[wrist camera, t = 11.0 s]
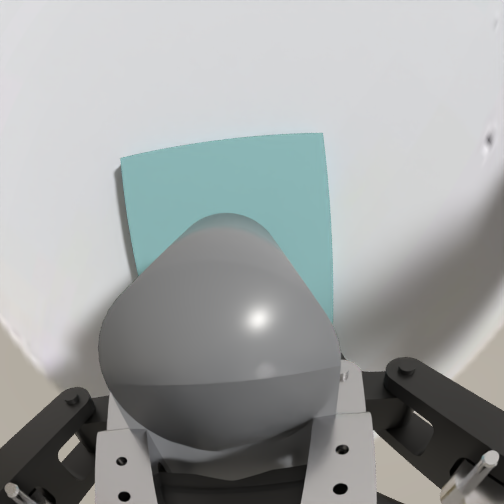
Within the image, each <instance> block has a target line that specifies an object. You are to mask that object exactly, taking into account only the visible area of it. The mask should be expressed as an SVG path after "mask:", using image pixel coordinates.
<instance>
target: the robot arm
mask: <svg viewBox="0 0 504 504" xmlns="http://www.w3.org/2000/svg"><path fill="white" fill-rule="evenodd" d="M414 411H416V412H417V413H418V414H420V415H421V416H423V417H424V418H425V419H426V420H428V421H429V422H430V423H431V424H432V426H433V427H432V426H431V425H429V424H428V423H427V422H425V421H424V420H422V419H421V418H420V417H419V416H417V415H416V414H415V413H413V412H414ZM373 430H375V432H376V433H377V434H378V435H379V436H380V437H381V438H383V439H384V440H385V441H386V442H387V443H388V444H389V445H390V446H391V447H393V448H394V449H395V450H396V451H397V452H398V453H399V454H400V455H402V456H403V457H404V458H405V459H406V460H407V461H408V462H410V463H411V464H412V465H413V466H414V467H415V468H416V469H417V470H419V471H420V472H421V473H422V474H423V475H424V476H426V477H427V478H428V479H429V480H431V481H432V482H433V483H434V484H435V485H436V486H438V487H439V488H440V489H441V493H440V500H441V503H442V504H504V411H502V410H501V409H499V408H497V407H496V406H494V405H492V404H491V403H489V402H487V401H486V400H484V399H482V398H481V397H479V396H477V395H476V394H474V393H472V392H471V391H469V390H467V389H465V388H464V387H462V386H460V385H459V384H457V383H455V382H454V381H452V380H450V379H449V378H447V377H445V376H444V375H442V374H440V373H439V372H437V371H435V370H434V369H432V368H430V367H429V366H427V365H425V364H424V363H422V362H420V361H419V360H417V359H414V358H408V357H403V358H397V359H394V360H392V361H391V362H390V363H389V364H388V365H387V367H386V371H384V372H363V371H361V369H360V367H359V366H358V365H357V364H356V363H354V362H351V361H348V360H345V358H344V356H343V355H342V353H341V371H340V382H339V392H338V401H337V410H336V415H329V416H322V417H316V418H313V426H312V434H311V442H310V450H309V457H308V464H305V465H300V466H294V467H288V468H281V469H274V470H270V471H267V472H264V473H260V474H257V475H254V476H250V477H247V478H243V479H239V480H235V481H229V480H223V479H217V478H212V477H207V476H202V475H197V474H185V473H172V472H171V470H170V469H169V467H168V465H167V464H166V462H165V461H164V459H163V457H162V456H161V454H160V452H159V451H158V449H157V447H156V445H155V444H154V442H153V440H152V438H151V436H150V435H149V433H148V431H147V429H130V428H129V427H128V425H127V423H126V421H125V419H124V418H123V416H122V414H121V412H120V410H119V408H118V406H117V404H116V402H115V400H114V398H113V396H112V394H111V392H110V395H109V396H104V397H97V398H91V396H90V395H89V393H88V391H87V390H86V389H84V388H80V387H74V388H70V389H67V390H65V391H63V392H62V393H61V394H60V395H59V396H57V397H56V398H55V399H54V400H53V401H52V402H51V403H50V404H49V405H47V406H46V407H45V408H44V409H43V410H42V411H41V412H40V413H39V414H37V416H35V417H34V418H33V419H32V420H31V421H30V422H29V423H28V424H26V425H25V426H24V427H23V428H22V429H21V430H20V431H19V432H18V433H17V434H15V435H14V437H12V438H11V439H10V440H9V441H8V442H7V443H6V444H5V445H4V446H3V447H2V448H1V449H0V504H79V502H80V501H81V500H82V499H83V497H84V496H85V495H86V493H87V492H88V491H89V490H90V488H91V487H92V486H93V485H94V483H95V504H404V503H401V502H398V501H396V500H394V499H392V498H389V497H387V496H385V495H383V494H381V493H379V492H376V465H375V450H374V436H373ZM74 434H75V435H76V436H77V437H78V439H79V440H80V442H79V444H78V445H77V446H76V447H75V448H74V449H73V450H72V451H71V453H70V454H69V455H68V456H67V457H66V458H65V459H64V460H63V461H62V462H60V461H59V459H58V452H59V450H60V449H61V447H62V446H63V445H64V444H65V443H66V442H67V441H68V440H69V439H70V438H71V437H72V436H73V435H74Z"/></svg>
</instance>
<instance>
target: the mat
mask: <svg viewBox="0 0 504 504" xmlns="http://www.w3.org/2000/svg"><path fill="white" fill-rule="evenodd" d="M120 159H121V170H122V180H123V189H124V197H125V204H126V211H127V218H128V224H129V230H130V236H131V242H132V247H133V252H134V258H135V263H136V267H137V272H138V276H139V275H140V274H141V273H142V272H143V271H144V270H145V269H146V268H147V267H148V266H149V265H150V264H151V263H152V262H153V261H154V260H155V259H157V258H158V257H159V256H160V255H161V254H162V253H163V252H164V251H165V250H166V249H167V248H168V247H169V246H170V245H171V244H172V243H173V242H174V241H175V240H176V239H177V238H178V237H179V236H180V235H181V234H183V233H184V232H185V231H186V230H187V229H188V228H189V227H190V226H191V225H192V224H194V223H195V222H197V221H198V220H200V219H202V218H204V217H207V216H210V215H213V214H218V213H235V214H240V215H243V216H246V217H249V218H251V219H253V220H255V221H256V222H258V223H259V224H261V225H262V226H263V227H264V228H265V229H266V230H267V231H268V232H269V233H270V235H271V236H272V237H273V239H274V240H275V241H276V243H277V244H278V246H279V247H280V248H281V250H282V251H283V253H284V254H285V255H286V257H287V258H288V260H289V261H290V262H291V264H292V265H293V267H294V268H295V270H296V271H297V272H298V274H299V275H300V277H301V278H302V280H303V281H304V282H305V284H306V285H307V287H308V288H309V290H310V291H311V292H312V294H313V295H314V297H315V298H316V300H317V301H318V303H319V304H320V305H321V307H322V308H323V310H324V311H325V313H326V314H327V316H328V318H329V319H330V321H331V323H332V325H333V259H332V233H331V215H330V200H329V188H328V176H327V166H326V156H325V147H324V139H323V133H298V134H279V135H265V136H253V137H242V138H233V139H224V140H216V141H209V142H202V143H195V144H189V145H183V146H177V147H171V148H166V149H160V150H155V151H150V152H145V153H141V154H136V155H132V156H127V157H123V158H120Z"/></svg>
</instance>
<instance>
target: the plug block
mask: <svg viewBox="0 0 504 504" xmlns="http://www.w3.org/2000/svg"><path fill="white" fill-rule="evenodd" d="M98 351H99V362H100V366H101V370H102V374H103V376H104V379H105V381H106V384H107V386H108V388H109V390H110V392H111V394H112V396H113V398H114V400H115V402H116V404H117V406H118V408H119V410H120V412H121V414H122V416H123V418H124V419H125V421H126V423H127V425H128V427H129V428H130V429H147V431H148V433H149V435H150V436H151V438H152V440H153V442H154V444H155V445H156V447H157V449H158V451H159V452H160V454H161V456H162V457H163V459H164V461H165V462H166V464H167V465H168V467H169V469H170V470H171V472H172V473H185V474H197V475H202V476H207V477H212V478H217V479H223V480H229V481H235V480H239V479H243V478H247V477H250V476H254V475H257V474H260V473H264V472H267V471H270V470H274V469H281V468H288V467H294V466H300V465H305V464H308V457H309V450H310V442H311V434H312V426H313V418H316V417H322V416H329V415H336V410H337V401H338V392H339V382H340V371H341V350H340V345H339V340H338V337H337V334H336V331H335V329H334V326H333V325H332V323H331V321H330V319H329V318H328V316H327V314H326V313H325V311H324V310H323V308H322V307H321V305H320V304H319V303H318V301H317V300H316V298H315V297H314V295H313V294H312V292H311V291H310V290H309V288H308V287H307V285H306V284H305V282H304V281H303V280H302V278H301V277H300V275H299V274H298V272H297V271H296V270H295V268H294V267H293V265H292V264H291V262H290V261H289V260H288V258H287V257H286V255H285V254H284V253H283V251H282V250H281V248H280V247H279V246H278V244H277V243H276V241H275V240H274V239H273V237H272V236H271V235H270V233H269V232H268V231H267V230H266V229H265V228H264V227H263V226H262V225H261V224H259V223H258V222H256V221H255V220H253V219H251V218H249V217H246V216H243V215H240V214H235V213H218V214H213V215H210V216H207V217H204V218H202V219H200V220H198V221H197V222H195V223H194V224H192V225H191V226H190V227H189V228H188V229H187V230H186V231H185V232H184V233H183V234H181V235H180V236H179V237H178V238H177V239H176V240H175V241H174V242H173V243H172V244H171V245H170V246H169V247H168V248H167V249H166V250H165V251H164V252H163V253H162V254H161V255H160V256H159V257H158V258H157V259H155V260H154V261H153V262H152V263H151V264H150V265H149V266H148V267H147V268H146V269H145V270H144V271H143V272H142V273H141V274H140V275H139V276H138V277H137V278H136V279H135V280H134V282H133V283H132V284H131V285H130V286H129V287H128V288H127V289H126V290H125V291H124V292H123V293H122V294H121V295H120V296H119V297H118V298H117V299H116V301H115V302H114V303H113V305H112V306H111V308H110V309H109V311H108V313H107V315H106V317H105V319H104V321H103V324H102V327H101V331H100V335H99V345H98Z"/></svg>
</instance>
